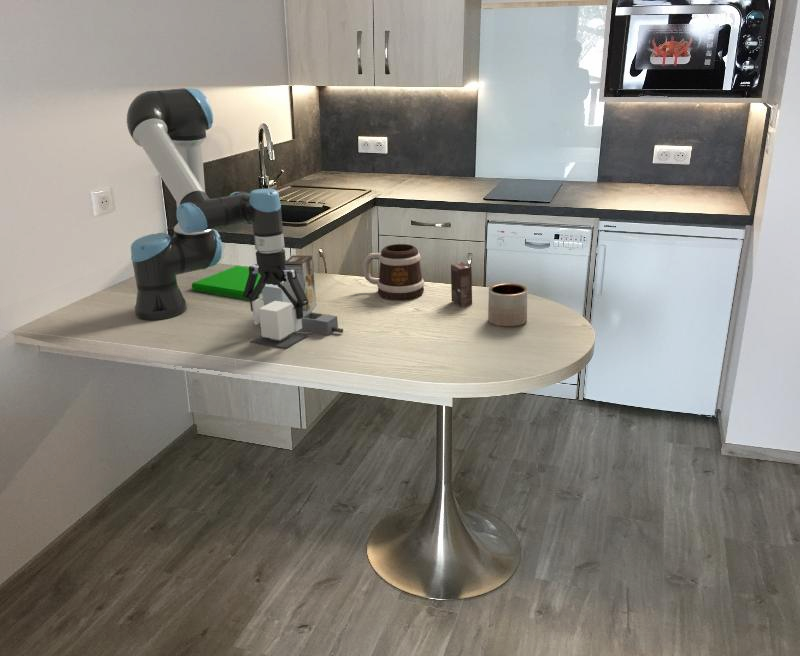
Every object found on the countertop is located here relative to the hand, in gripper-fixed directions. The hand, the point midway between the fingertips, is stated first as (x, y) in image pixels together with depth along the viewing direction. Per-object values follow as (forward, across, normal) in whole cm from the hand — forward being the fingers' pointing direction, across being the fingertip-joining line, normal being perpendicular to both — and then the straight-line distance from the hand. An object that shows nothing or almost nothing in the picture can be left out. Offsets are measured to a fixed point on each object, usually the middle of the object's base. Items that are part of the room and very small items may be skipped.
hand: (278, 326), depth 195 cm
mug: (+4, +10, +47) cm, 48 cm away
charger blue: (+1, -6, +10) cm, 12 cm away
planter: (+4, +52, +37) cm, 64 cm away
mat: (+4, 0, 0) cm, 4 cm away
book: (+5, -40, +35) cm, 53 cm away
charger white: (+3, 0, 0) cm, 3 cm away
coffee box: (+4, -8, +22) cm, 24 cm away
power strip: (+4, 0, +10) cm, 11 cm away
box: (+4, +34, +46) cm, 57 cm away
